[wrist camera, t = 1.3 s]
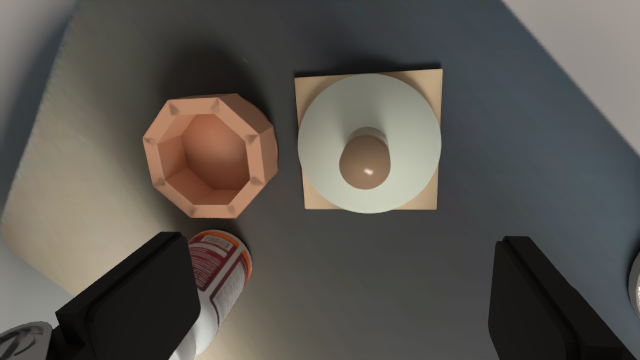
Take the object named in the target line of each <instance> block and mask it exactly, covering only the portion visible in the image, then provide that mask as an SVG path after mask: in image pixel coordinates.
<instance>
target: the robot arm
mask: <svg viewBox="0 0 640 360" xmlns="http://www.w3.org/2000/svg"><path fill="white" fill-rule="evenodd" d="M628 291H629V296H630V301H631V304H632V306H633V308H634V310H635V312H636V314H637V316H638V317H639V318H640V252H639V254H638V255H637V257H636V259H635V261H634V263H633V266H632V269H631V272H630V276H629V289H628ZM200 312H201V304H200V300H199V295H198V290H197V285H196V280H195V275H194V270H193V266H192V261H191V256H190V251H189V246H188V241H187V239H186V237H184V236H182V234H181V233H180V232H160V233H158V234H157V235H156V236H154V237H153V238H152V239H150V240H149V241H148V242H146V243H145V244H144V245H143V246H141V247H140V248H139V249H137V250H136V251H135V252H133V253H132V254H131V255H129V256H128V257H127V258H126V259H124V260H123V261H122V262H120V263H119V264H118V265H116V266H115V267H114V268H112V269H111V270H110V271H109V272H107V273H106V274H105V275H103V276H102V277H101V278H99V279H98V280H97V281H95V282H94V283H93V284H92V285H90V286H89V287H88V288H86V289H85V290H84V291H82V292H81V293H80V294H78V295H77V296H76V297H75V298H73V299H72V300H71V301H69V302H68V303H67V304H65V305H64V306H63V307H62V308H60V309H59V310H58V311H56V312H55V314H56V317H57V320H58V322H59V325H58V326H57V327H56V328H55V329H52V326H51V325H50V324H49V323H47V322H42V321H40V322H31V323H27V324H23V325H19V326H17V327H14V328H12V329H9V330H7V331H5V332H3V333H1V334H0V360H169V359H170V357H171V356H172V354H173V353H174V352H175V350H176V349H177V347H178V346H179V345H180V343H181V342H182V340H183V339H184V338H185V336H186V335H187V333H188V332H189V331H190V329H191V328H192V326H193V325H194V324H195V322H196V321H197V319H198V318H199V316H200ZM488 328H489V333H490V337H491V339H492V342H493V344H494V347H495V349H496V352H497V354H498V357H499V359H500V360H637V359H636V358H635V357H634V356H633V355H632V354H631V352H630V351H629V350H628V349H627V348H626V347H625V345H624V344H623V343H622V342H621V341H620V340H619V339H618V337H617V336H616V335H615V334H614V333H613V332H612V330H611V329H610V328H609V327H608V326H607V325H606V323H605V322H604V321H603V320H602V319H601V318H600V317H599V315H598V314H597V313H596V312H595V311H594V310H593V308H592V307H591V306H590V305H589V304H588V303H587V301H586V300H585V299H584V298H583V297H582V296H581V295H580V293H579V292H578V291H577V290H576V289H575V288H573V287H572V286H571V285H570V284H569V283H568V282H567V281H566V279H565V278H564V277H563V276H562V275H561V274H560V272H559V271H558V270H557V269H556V268H555V267H554V265H553V264H552V263H551V262H550V261H549V260H548V258H547V257H546V256H545V255H544V254H543V253H542V251H541V250H540V249H539V248H538V247H537V246H536V244H535V243H534V242H533V241H532V240H531V239H530V238H529V237H528V236H505V237H504V238H503V241H497V242H496V246H495V256H494V266H493V277H492V287H491V298H490V308H489V319H488Z"/></svg>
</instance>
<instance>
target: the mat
mask: <svg viewBox="0 0 640 360" xmlns="http://www.w3.org/2000/svg"><path fill="white" fill-rule="evenodd" d="M442 70H443V69H432V70H416V71H399V72H383V73H367V74H381V75H386V76H390V77H393V78H396V79H398V80H401V81H403V82H405V83H406V84H408V85H409V86H411V87H412V88H414V89H415V90H416V91H417V92H418V93H420V94H421V95H422V96H423V98H424V99H425V100H426V101H427V102H428V104H429V105H430V107H431V108H432V110H433V112H434V114H435V116H436V118H437V121H438V125H439V128H440V116H441V93H442ZM354 75H360V74H350V75H334V76H318V77H301V78H295V90H296V102H297V114H298V126H299V129H300V125H301V122H302V119H303V117H304V115H305V113H306V111H307V109H308V107H309V106H310V105H311V103H312V102H313V101H314V99H315V98H316V97H317V96H318V95H319V94H320V93H321V92H322V91H324V90H325V89H326V88H327V87H329V86H330V85H332V84H334V83H336V82H337V81H340V80H342V79H345V78H347V77H351V76H354ZM302 175H303V187H304V199H305V209H343V208H341V207H338V206H336V205H334V204H333V203H331V202H329V201H328V200H326V199H325V198H324V197H323V196H321V195H320V194H319V193H318V192H317V191H316V190H315V189H314V187H313V186H312V185H311V184H310V182H309V181H308V179H307V177H306V175H305V173H304V171H303V169H302ZM437 184H438V165H437V168H436V170H435V172H434V174H433V176H432V178H431V180H430V181H429V183H428V184H427V185H426V187H425V188H424V189H423V190H422V191H421V192H420V193H419V194H418V195H417V196H416V197H414V198H413V199H412V200H410V201H409V202H407V203H405V204H404V205H402V206H400V207H397V208H395V209H436V207H437Z"/></svg>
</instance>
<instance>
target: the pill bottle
mask: <svg viewBox="0 0 640 360" xmlns="http://www.w3.org/2000/svg"><path fill="white" fill-rule="evenodd" d="M188 246H189V251H190V256H191V261H192V266H193V270H194V275H195V280H196V285H197V290H198V295H199V300H200V304H201V312H200V316H199V318H198V319H197V321H196V322H195V324H194V325H193V326H192V328H191V329H190V331H189V332H188V333H187V335H186V336H185V338H184V339H183V340H182V342H181V343H180V345H179V346H178V347H177V349H176V350H175V352H174V353H173V354H172V356H171V357H170V359H169V360H193V359H194V357H195V356H196V355H198V354H200V353H201V352H203V351H204V350H205V349H206V348H207V347H208V346H209V344H210V343H211V341H212V340H213V339H214V337H215V335H216V333H217V332H218V330H219V328H220V326H221V325H222V323H223V321H224V320H225V318H226V316H227V315H228V313H229V311H230V310H231V308H232V306H233V304H234V303H235V301H236V299H237V298H238V296H239V294H240V293H241V291H242V289H243V288H244V286H245V284H246V283H247V281H248V279H249V277H250V274H251V270H252V261H251V256H250V254H249V251H248V250H247V248H246V246H245V245H244V244H243V243H242V242H241V241H240V240H239V239H238V238H237V237H235V236H234V235H232V234H230V233H228V232H225V231H221V230H207V231H203V232H200V233H198V234H197V235H195V236H194V237H193V238H192V239H191V240H189V241H188Z"/></svg>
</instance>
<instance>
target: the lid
mask: <svg viewBox="0 0 640 360" xmlns="http://www.w3.org/2000/svg"><path fill="white" fill-rule="evenodd" d="M440 152H441V134H440V128H439V125H438V121H437V118H436V116H435V114H434V112H433V110H432V108H431V107H430V105H429V104H428V102H427V101H426V100H425V99H424V98H423V96H422V95H421V94H420V93H418V92H417V91H416V90H415V89H414V88H412V87H411V86H409V85H408V84H406V83H405V82H403V81H401V80H398V79H396V78H393V77H390V76H386V75H381V74H360V75H354V76H351V77H347V78H345V79H342V80H340V81H337V82H336V83H334V84H332V85H330V86H329V87H327V88H326V89H325V90H324V91H322V92H321V93H320V94H319V95H318V96H317V97H316V98H315V99H314V101H313V102H312V103H311V105H310V106H309V107H308V109H307V111H306V113H305V115H304V117H303V119H302V122H301V125H300V129H299V135H298V153H299V159H300V163H301V166H302V169H303V171H304V173H305V175H306V177H307V179H308V181H309V182H310V184H311V185H312V186H313V187H314V189H315V190H316V191H317V192H318V193H319V194H320V195H321V196H323V197H324V198H325V199H326V200H328V201H329V202H331V203H333V204H334V205H336V206H338V207H341V208H343V209H346V210H349V211H353V212H359V213H379V212H385V211H389V210H392V209H395V208H397V207H400V206H402V205H404V204H405V203H407V202H409V201H410V200H412V199H413V198H414V197H416V196H417V195H418V194H419V193H420V192H421V191H422V190H423V189H424V188H425V187H426V185H427V184H428V183H429V181H430V180H431V178H432V176H433V174H434V172H435V170H436V168H437V165H438V162H439V158H440Z"/></svg>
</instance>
